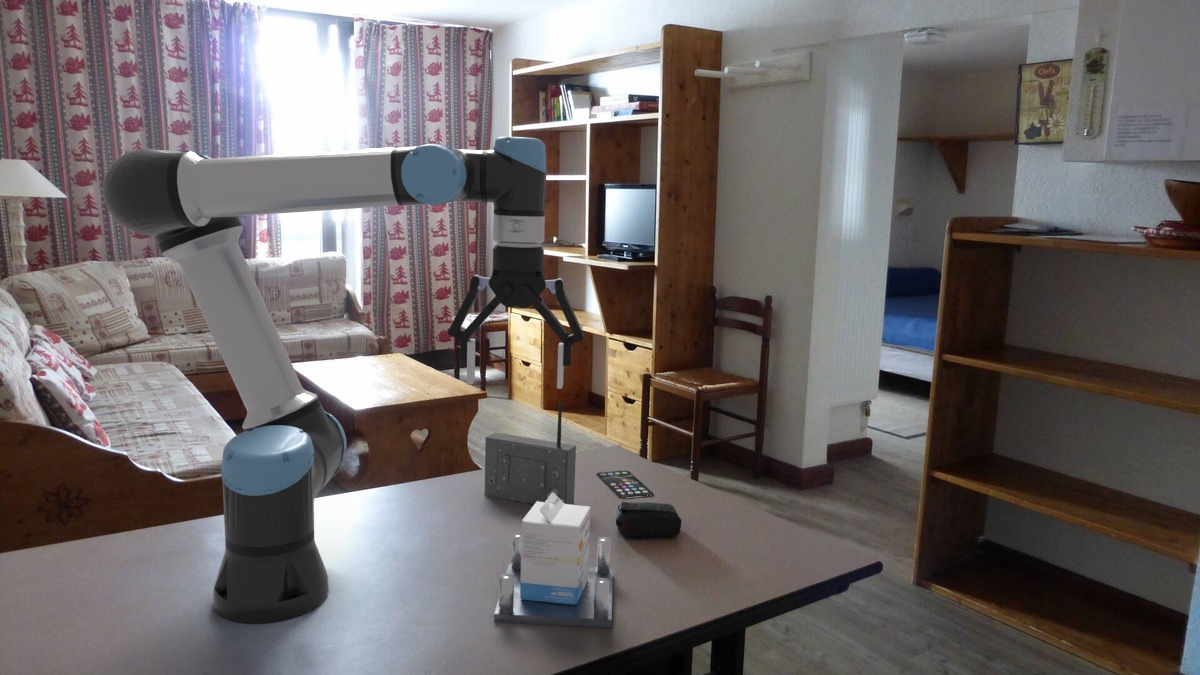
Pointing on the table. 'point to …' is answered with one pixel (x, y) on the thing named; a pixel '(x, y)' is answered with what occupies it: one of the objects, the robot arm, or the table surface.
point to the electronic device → (529, 467)
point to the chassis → (587, 613)
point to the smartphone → (624, 484)
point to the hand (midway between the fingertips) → (515, 384)
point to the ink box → (555, 552)
